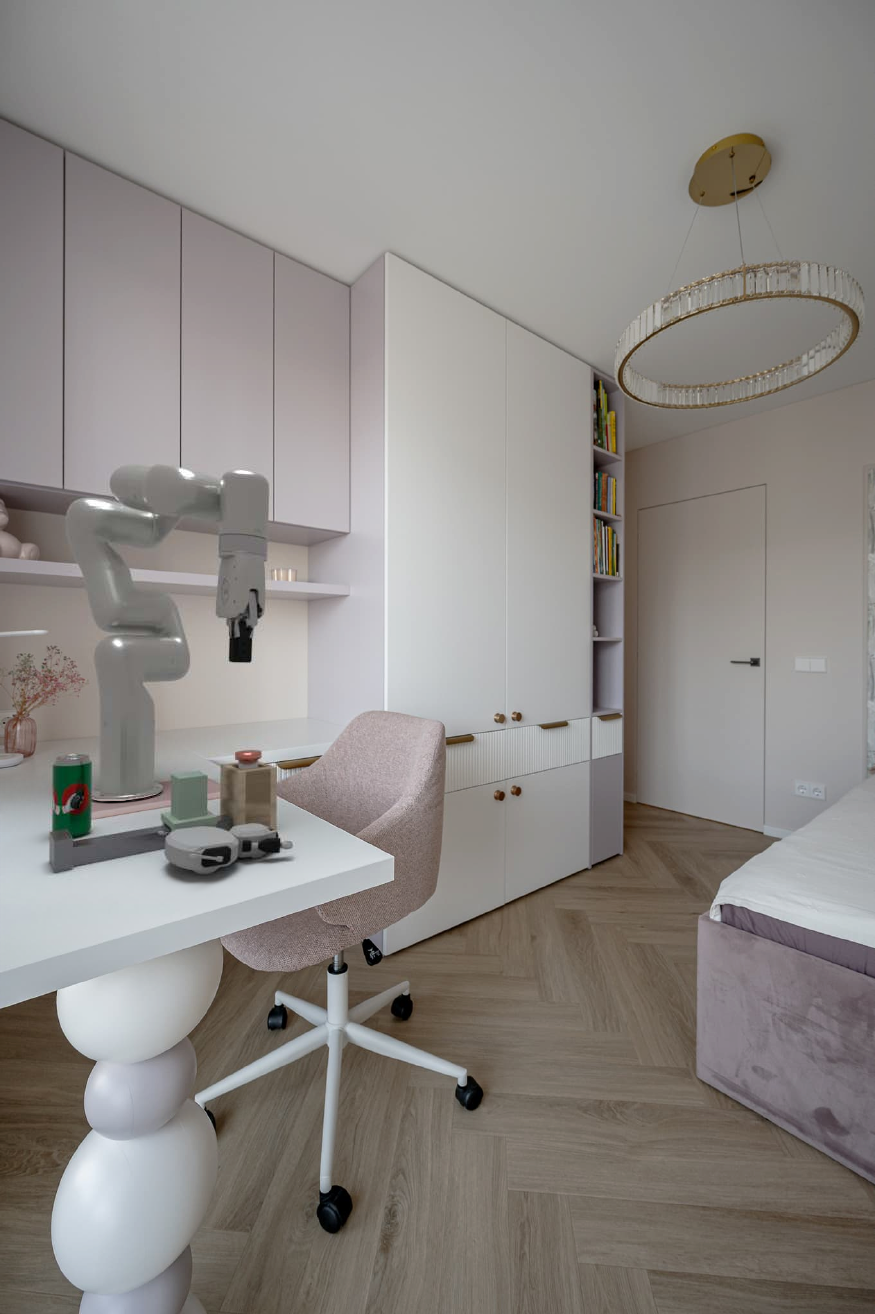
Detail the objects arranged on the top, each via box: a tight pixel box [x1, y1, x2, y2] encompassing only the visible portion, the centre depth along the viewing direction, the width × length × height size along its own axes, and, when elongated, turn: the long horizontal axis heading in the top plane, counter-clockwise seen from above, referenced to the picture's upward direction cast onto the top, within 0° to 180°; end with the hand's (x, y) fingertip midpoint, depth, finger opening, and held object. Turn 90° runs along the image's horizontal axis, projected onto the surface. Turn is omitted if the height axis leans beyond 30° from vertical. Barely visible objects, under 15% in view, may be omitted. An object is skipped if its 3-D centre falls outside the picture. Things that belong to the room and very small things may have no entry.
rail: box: [48, 814, 233, 874], centre depth 81 cm, size 5×24×4 cm, turn 130°
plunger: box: [234, 749, 262, 770], centre depth 90 cm, size 4×4×6 cm
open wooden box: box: [219, 760, 278, 831], centre depth 90 cm, size 8×6×10 cm
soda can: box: [51, 753, 93, 839], centre depth 86 cm, size 5×5×12 cm
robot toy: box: [158, 823, 294, 876], centre depth 76 cm, size 12×4×15 cm
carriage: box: [160, 770, 219, 832], centre depth 84 cm, size 7×6×10 cm
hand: (240, 662), depth 92 cm, fingers closed
